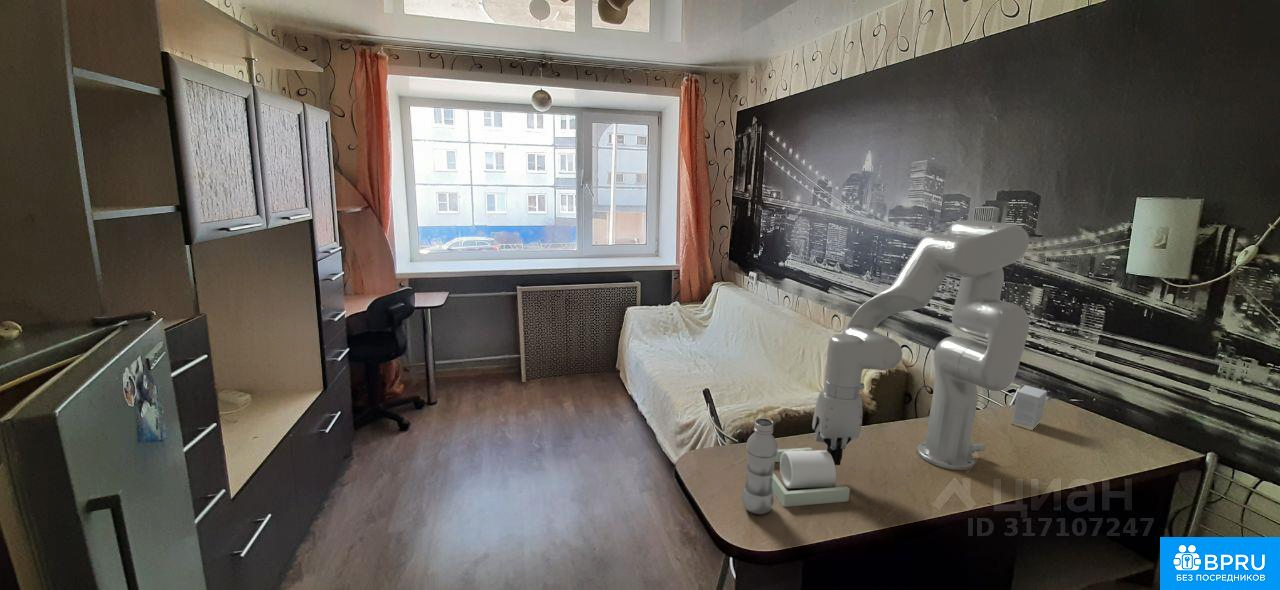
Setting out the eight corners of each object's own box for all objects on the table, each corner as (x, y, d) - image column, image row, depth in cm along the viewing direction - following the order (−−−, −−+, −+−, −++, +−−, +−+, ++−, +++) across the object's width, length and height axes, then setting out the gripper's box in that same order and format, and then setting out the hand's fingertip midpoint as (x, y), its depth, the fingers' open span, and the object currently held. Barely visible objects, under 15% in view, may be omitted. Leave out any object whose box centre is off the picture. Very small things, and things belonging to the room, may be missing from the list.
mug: (834, 494, 117) (837, 461, 115) (790, 495, 116) (794, 463, 114) (811, 465, 128) (815, 435, 127) (772, 466, 128) (775, 436, 126)
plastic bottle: (778, 508, 111) (786, 421, 107) (762, 523, 106) (770, 433, 102) (751, 495, 116) (758, 412, 111) (735, 509, 111) (741, 422, 106)
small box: (1018, 417, 158) (1024, 384, 156) (1040, 423, 154) (1047, 390, 152) (1010, 424, 153) (1016, 391, 151) (1033, 431, 149) (1040, 397, 146)
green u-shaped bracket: (809, 458, 132) (810, 447, 131) (848, 501, 114) (849, 489, 114) (752, 462, 129) (753, 451, 129) (783, 506, 112) (784, 494, 111)
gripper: (862, 381, 123) (853, 452, 127) (803, 384, 121) (796, 456, 125) (881, 394, 116) (872, 468, 120) (819, 397, 113) (811, 473, 118)
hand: (833, 462), depth 122 cm, fingers closed
